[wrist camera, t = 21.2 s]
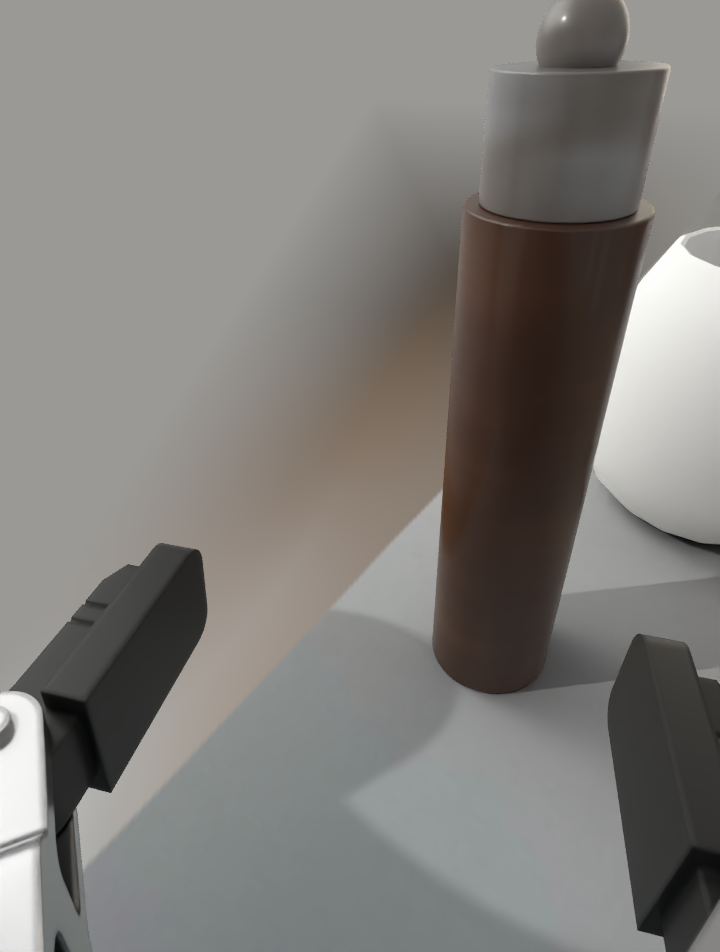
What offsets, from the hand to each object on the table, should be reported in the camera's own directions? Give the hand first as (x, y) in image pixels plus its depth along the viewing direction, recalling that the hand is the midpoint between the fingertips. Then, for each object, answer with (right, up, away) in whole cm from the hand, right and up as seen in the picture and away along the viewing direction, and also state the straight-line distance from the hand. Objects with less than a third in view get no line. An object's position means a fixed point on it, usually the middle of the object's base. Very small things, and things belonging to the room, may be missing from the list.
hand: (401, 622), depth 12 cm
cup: (+18, +1, +23) cm, 29 cm away
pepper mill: (+5, -5, +15) cm, 17 cm away
